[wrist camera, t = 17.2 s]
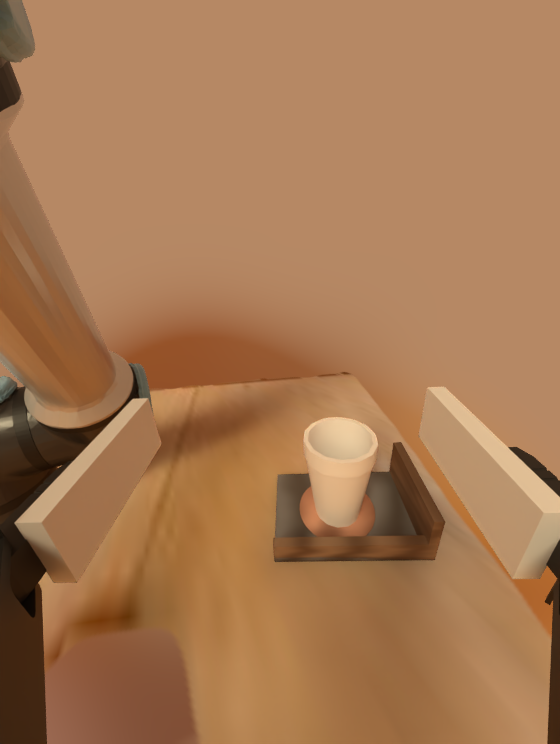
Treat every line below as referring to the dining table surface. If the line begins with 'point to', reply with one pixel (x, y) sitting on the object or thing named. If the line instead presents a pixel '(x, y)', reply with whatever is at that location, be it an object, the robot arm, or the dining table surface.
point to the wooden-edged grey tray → (361, 519)
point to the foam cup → (339, 467)
